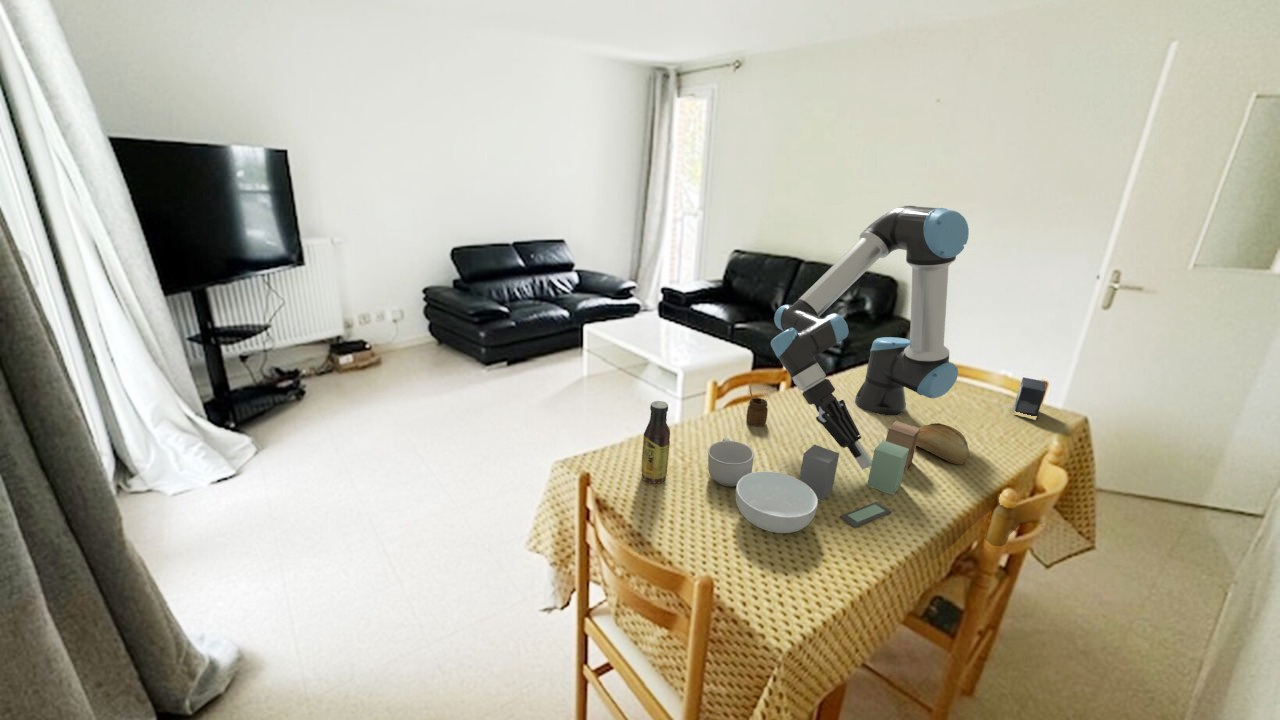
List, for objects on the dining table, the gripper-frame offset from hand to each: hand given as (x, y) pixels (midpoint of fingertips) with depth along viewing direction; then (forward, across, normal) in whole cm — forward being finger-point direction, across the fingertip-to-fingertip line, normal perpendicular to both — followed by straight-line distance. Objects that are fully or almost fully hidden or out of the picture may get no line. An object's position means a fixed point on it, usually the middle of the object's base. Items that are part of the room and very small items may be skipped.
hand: (868, 466), depth 128 cm
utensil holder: (-22, -8, -28) cm, 36 cm away
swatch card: (+6, +15, +1) cm, 16 cm away
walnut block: (+5, -14, 0) cm, 15 cm away
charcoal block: (-2, +14, -8) cm, 16 cm away
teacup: (-15, +23, -20) cm, 35 cm away
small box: (+20, -79, +14) cm, 83 cm away
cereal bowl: (-4, +31, -9) cm, 33 cm away
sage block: (+6, 0, 0) cm, 6 cm away
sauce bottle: (-24, +37, -29) cm, 53 cm away
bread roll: (+10, -28, +4) cm, 30 cm away
